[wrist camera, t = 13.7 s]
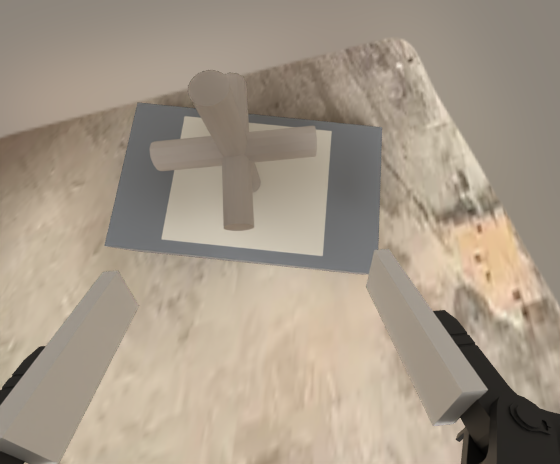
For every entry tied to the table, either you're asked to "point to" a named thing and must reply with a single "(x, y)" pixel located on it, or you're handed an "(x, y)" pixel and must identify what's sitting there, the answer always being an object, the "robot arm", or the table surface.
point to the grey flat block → (266, 200)
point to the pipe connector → (231, 144)
